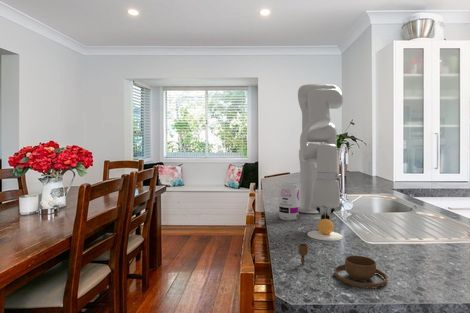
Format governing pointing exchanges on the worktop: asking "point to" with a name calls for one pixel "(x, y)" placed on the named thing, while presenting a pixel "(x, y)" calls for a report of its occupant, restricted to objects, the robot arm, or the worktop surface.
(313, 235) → the disc
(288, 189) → the supplement can
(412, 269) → the worktop surface
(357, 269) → the place setting
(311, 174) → the robot arm
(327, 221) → the ball
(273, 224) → the worktop surface
